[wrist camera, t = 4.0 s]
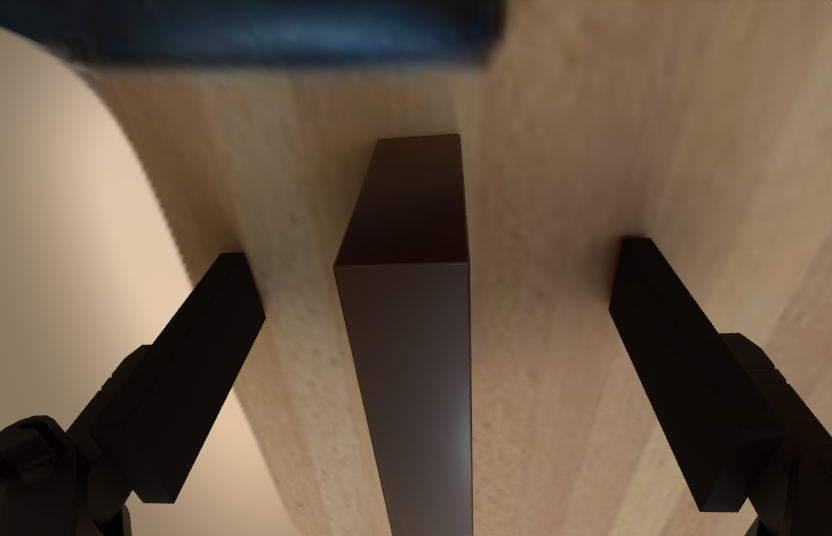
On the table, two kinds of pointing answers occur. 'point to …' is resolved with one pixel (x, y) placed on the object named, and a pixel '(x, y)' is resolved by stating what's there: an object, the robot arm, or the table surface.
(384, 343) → the dark brown brick
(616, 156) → the table surface
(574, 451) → the table surface
